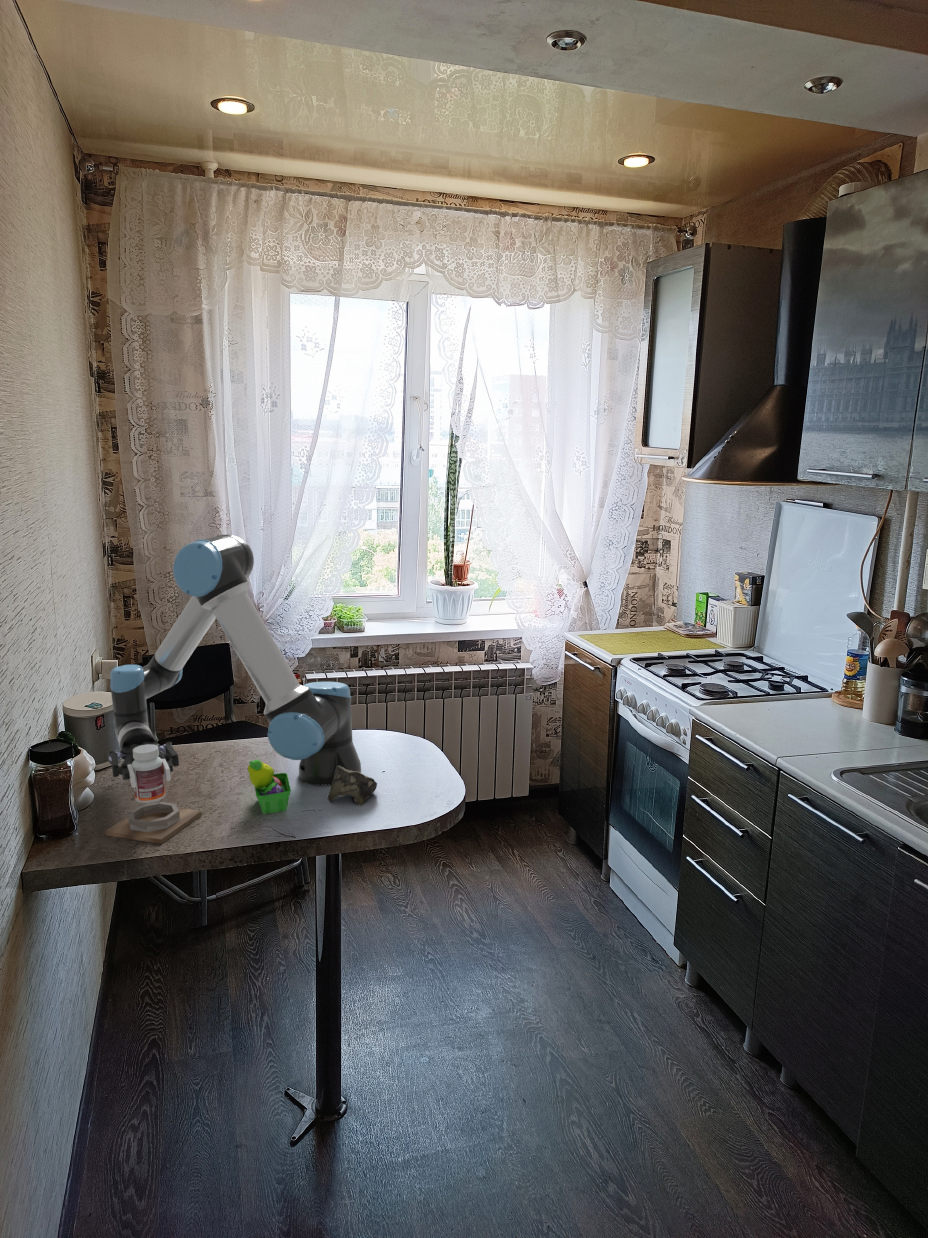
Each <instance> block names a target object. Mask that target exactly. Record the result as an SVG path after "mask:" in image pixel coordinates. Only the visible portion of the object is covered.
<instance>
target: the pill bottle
mask: <svg viewBox="0 0 928 1238" xmlns="http://www.w3.org/2000/svg"><path fill="white" fill-rule="evenodd" d="M158 756H159V749H158V746H157V745H153V744H147V745H141V746H138V747H135V748H134V749H133V758H134V759H135V760H134V761H133V763H132V768H133V771H134V774H135V781H136V787H134V788H133V791H134V798H135V801H136V802H137V803H139V804H151V803H156V802H160V801H161V800H163V799H164V798H165V796H166V787H165V786H166V785H165V775H164V773H163V763H162V759H161V758H160V757H158Z"/></svg>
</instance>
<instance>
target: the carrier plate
mask: <svg viewBox="0 0 928 1238" xmlns="http://www.w3.org/2000/svg"><path fill="white" fill-rule="evenodd" d="M177 805H178V804H177V803H173V802H165V801H156V802H152V803H145V804H142V805H139V806H138V807H136V808H134V809H132V810H131V811H129V812H127V816H125V818H123V819H122V820H120V821H119V822H117V823H115V824H114V825H112V826H111V827H109V828H108V829H106V830H105V831H104V833H105V834H104V835H105V836H107V837H114V838H120V839H121V838H122V839H128V840H132V841H133V840H134V841H140V842H148V843H153V844H160V845H162V844H163V843H165V842H166V841H168V840H169V839H171V838H172V837H174V836H175V835H176V834H178V833H179V832H181V831H182V830H183V829H185V827H188V826H189V825H191V824H192V823H193V822H194V821H196V820H197V819H198V818H200V817H201V816H202V815H203V814H202V811H201V810H195V809H189V808H182V807H178V806H177Z"/></svg>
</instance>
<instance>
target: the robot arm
mask: <svg viewBox="0 0 928 1238" xmlns="http://www.w3.org/2000/svg"><path fill="white" fill-rule="evenodd" d="M254 559H255V558H254V553H253V551H252V548H251V547H250V545H249V544H248V543H247V542H246V540H244V539H242V538H241V537H239V536H238V535H233V534H220V535H217V536H212V537H208V538H203V539H202V538H201V539H197V540H195V541H192V542H190V543H188V544H186V545H184V546H182V547H181V549H179V550H178V552H177V553H176V555H175V557H174V562H173V565H172V566H173V567H172V572H173V578H174V580H175V583H176V585H177V586H178V587H179V589H180V590H181V591H182V592H183V593H185V594H187V595H190V596H191V597H190V599H189V600H188V602H187V603H186V605H185V606H184V608H183V609H182V611H181V613H180V614H179V616H178V617H177V619H176V621H175V622H174V623H173V625H172V627H171V628H170V629H169V631H168V633H167V634H166V636H165V637H164V639H163V641H162V642H161V644H160V646H159V647H158V649H157V650H156V651H155V653H154V655H153V656H152V658H151V660H149V662H148V663H147V664H146V665H144V666H141V665H139V664H124V665H123V664H122V665H120V666H116V667H114V668H112V669H111V671H110V672H109V674H110V675H109V676H110V677H109V679H110V683H109V688H110V694H111V703H112V710H113V711H112V712H113V715H112V716H113V727H112V728H113V732H114V733H113V734H114V735H115V737H116V739H117V743H118V745H119V749H120V751H119V752H118V751H113V750H110V751H108V752H107V755H108V762H109V763H108V764H110V765H111V771H112V778H118V777H119V776H120V775H121V776H122V780H124V781H126V780H129V781H130V784H131V788H133V789H134V787H136V781H135V774H134V771H133V768H132V763H133V761H134V760H135V759H134V758H133V749H134V748H135V747H138V746H141V745H147V744H153V745H157V746H158V749H159V756H158V757H160V758H161V759H162V763H163V773H164V779H165V780H166V781H167V782H171V780H172V779H171V773H172V772H173V773H174V767H175V768H176V767H179V766H180V759H179V754H178V753H177V752H176V749H174V748H173V745H172V744H173V743H172V741H167V742H166V743H164V744H163V745H160V744H159V743H157V742H156V739H155V737H154V734H153V733H152V731H151V728H150V727H149V719H148V704H147V699H150V698H151V697H153V696H156V695H158V694H159V693H162V692H163V691H165V690H168V689H171V688H172V687H174V686H175V685H176V684H178V683H179V682H180V681H181V679H182V678H183V669H184V667H185V665H186V663H187V661H188V660H189V659H190V657H191V656H192V654H193V652H194V651H195V650H196V649H197V647H198V646H199V644H200V643H201V641H202V639H204V636H205V635H206V633H207V632H208V631H209V629H210V628H211V626H212V625H213V623H214V622H215V620H216V619H217V621H218V623H219V625H220V627H221V628H222V631H223V632H224V633H225V635H226V637H227V639H228V640H229V642H230V644H231V646H232V647H233V649H234V651H235V652H236V654H237V656H238V658H239V660H240V661H241V663H242V664H243V666H244V668H245V669H246V671H247V674H248V675H249V677H250V678H251V680H252V682H253V683H254V685H255V687H256V689H257V690H258V692H259V694H260V696H261V697H262V699H263V701H264V702H265V707H264V711H263V714H264V717H265V718H266V719H267V721H268V723H269V724H268V731H267V738H268V742H269V745H270V747H272V748H271V749H273V750H274V751H275V752H276V753H277V754H278V755H280V756H281V757H283V758H286V759H290V760H291V761H300V762H299V764H298V765H299V766H298V777H299V779H300V780H301V781H302V782H305V783H307V784H310V785H315V786H331V785H332V781H333V777H334V772H335V769H336V766H341V767H344V768H345V769H347V770H352V771H358V772H360V773H361V774H362V765H361V760H360V757H359V754H358V753H357V750H356V747H355V745H354V741H353V725H352V724H353V723H352V722H353V721H352V696H351V690H350V689H351V688H350V687H349V685H347V684H346V683H342V682H338V681H317V682H316V681H314V682H309V683H306V684H303V685H302V684H300V683H299V681H298V679H297V678H296V676H295V674H294V673H293V670H292V669H291V667H290V665H289V664H288V662H287V659H286V658H285V657H284V655H283V653H282V651H281V650H280V647H279V646H278V644H277V642H276V641H275V639H274V637H273V636H272V634H271V632H270V630H269V629H268V627H267V625H266V623H265V622H264V619H263V618H262V617H261V615H260V613H259V612H258V609H257V608H256V606H255V605H254V602H253V601H252V599H251V597H250V596H249V594H248V588H249V584H250V582H249V577H250V575H251V574H252V571H253V568H254V564H255V560H254ZM121 759H122V760H123V761H122V763H121V765H119V763H120V760H121Z"/></svg>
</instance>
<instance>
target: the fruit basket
mask: <svg viewBox="0 0 928 1238" xmlns="http://www.w3.org/2000/svg"><path fill="white" fill-rule="evenodd" d="M248 763H249V764H248V766H247V771H248V774H249V775H248V777H249V780H250V783H251V785H253V786H254V791H255V797H256V799H257V800H258V804H259V806H260V810H261V812H262V814H263V815H266V814H275V813H279V812H286V811H287V809H288V803H289V798H290V795H291V792H292V790H291V785H290V780H289V775H288V773H286V772H280V773H275V770H274V768H273V767H272V766H270V765H269V764H266V763H265V762H263V761H261V760H259V759H254V760H250V761H248Z"/></svg>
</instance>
